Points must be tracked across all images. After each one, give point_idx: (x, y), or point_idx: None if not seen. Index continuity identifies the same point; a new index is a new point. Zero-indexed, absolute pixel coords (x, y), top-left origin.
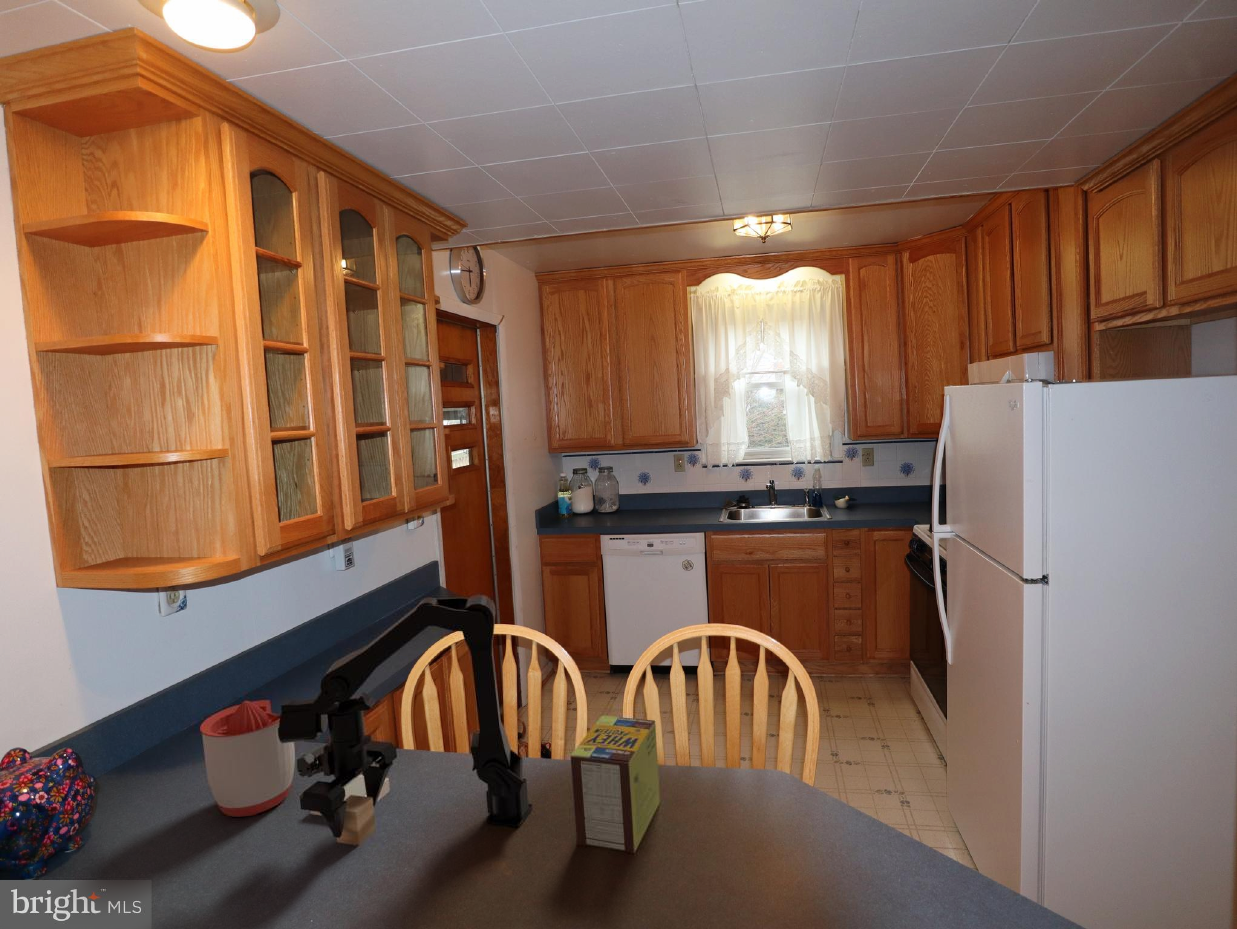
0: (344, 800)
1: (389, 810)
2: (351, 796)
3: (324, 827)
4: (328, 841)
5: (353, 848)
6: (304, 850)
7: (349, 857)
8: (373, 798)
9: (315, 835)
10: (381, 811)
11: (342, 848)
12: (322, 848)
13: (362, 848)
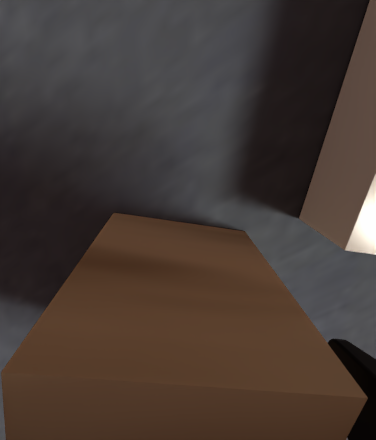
0: (233, 392)
1: (359, 324)
2: (325, 418)
3: (245, 52)
4: (112, 161)
5: None
6: (4, 51)
7: (16, 326)
8: (354, 426)
9: (160, 36)
10: (358, 295)
11: (69, 265)
12: (48, 162)
13: None
